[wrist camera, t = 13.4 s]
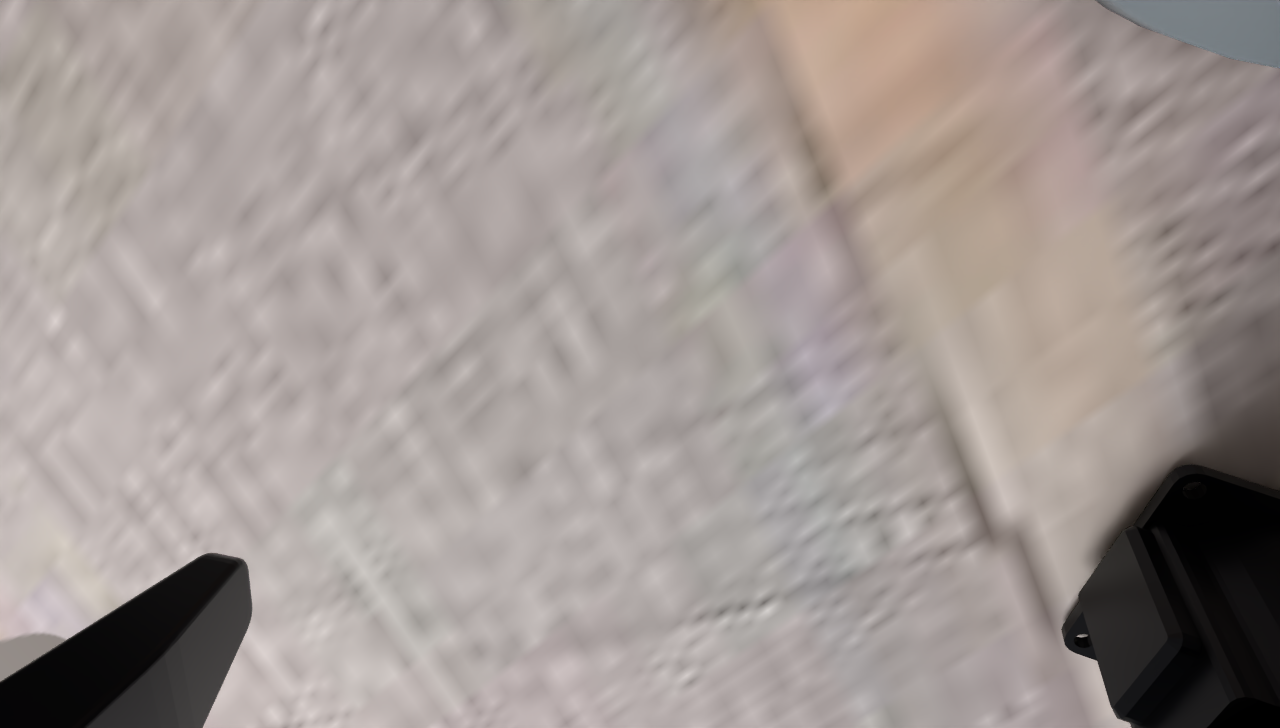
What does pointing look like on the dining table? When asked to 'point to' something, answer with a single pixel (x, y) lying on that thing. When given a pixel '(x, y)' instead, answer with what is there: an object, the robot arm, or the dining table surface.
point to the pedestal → (1212, 25)
